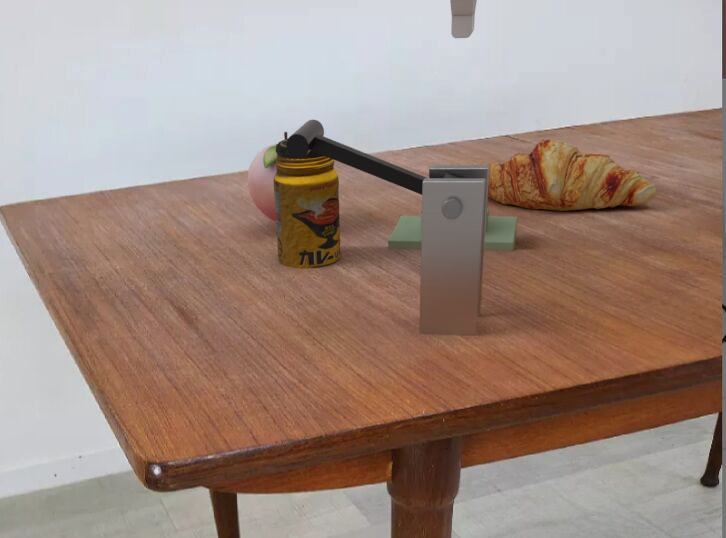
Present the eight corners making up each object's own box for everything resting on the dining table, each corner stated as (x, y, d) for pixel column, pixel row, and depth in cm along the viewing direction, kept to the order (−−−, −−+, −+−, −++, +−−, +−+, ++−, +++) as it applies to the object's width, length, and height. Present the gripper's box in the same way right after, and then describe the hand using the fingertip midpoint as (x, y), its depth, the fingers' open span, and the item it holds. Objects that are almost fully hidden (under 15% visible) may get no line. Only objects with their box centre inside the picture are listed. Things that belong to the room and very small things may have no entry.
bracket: (380, 357, 74) (380, 186, 67) (395, 320, 80) (396, 161, 73) (510, 362, 72) (524, 186, 65) (515, 324, 78) (528, 160, 71)
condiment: (337, 285, 88) (333, 149, 82) (250, 283, 90) (239, 149, 83) (351, 261, 94) (348, 132, 87) (269, 260, 96) (260, 133, 89)
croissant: (651, 232, 108) (666, 160, 107) (648, 210, 99) (665, 131, 97) (470, 217, 115) (483, 149, 114) (452, 196, 106) (466, 121, 105)
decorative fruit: (270, 215, 110) (264, 122, 104) (336, 218, 107) (333, 123, 102) (237, 238, 103) (229, 140, 97) (307, 242, 100) (303, 141, 95)
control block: (515, 238, 98) (519, 198, 96) (511, 265, 91) (515, 222, 88) (400, 236, 100) (401, 197, 98) (388, 263, 93) (388, 221, 91)
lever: (281, 159, 68) (291, 125, 67) (298, 143, 73) (307, 111, 71) (463, 231, 68) (476, 199, 67) (469, 211, 73) (482, 180, 71)
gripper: (502, -166, 68) (490, 50, 76) (515, -155, 84) (504, 22, 92) (415, -160, 69) (412, 52, 77) (444, -150, 85) (439, 24, 93)
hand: (462, 36), depth 85 cm, fingers closed
